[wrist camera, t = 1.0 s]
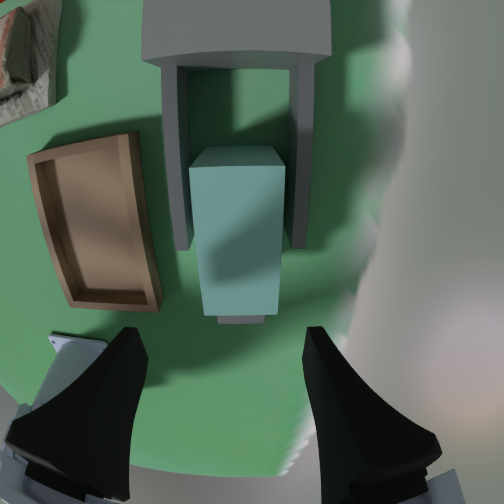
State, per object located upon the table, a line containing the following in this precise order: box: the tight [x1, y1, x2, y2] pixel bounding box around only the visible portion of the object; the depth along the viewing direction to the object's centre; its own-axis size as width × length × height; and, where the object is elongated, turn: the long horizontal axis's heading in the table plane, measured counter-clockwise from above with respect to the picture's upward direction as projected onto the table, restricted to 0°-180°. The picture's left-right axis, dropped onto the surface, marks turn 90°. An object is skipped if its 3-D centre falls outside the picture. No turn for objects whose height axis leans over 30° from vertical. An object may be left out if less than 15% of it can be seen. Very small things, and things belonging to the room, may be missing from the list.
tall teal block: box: [189, 146, 285, 324], centre depth 16 cm, size 9×4×6 cm, turn 0°
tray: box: [27, 131, 164, 312], centre depth 18 cm, size 13×8×2 cm, turn 0°
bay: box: [141, 0, 332, 250], centre depth 12 cm, size 17×8×6 cm, turn 0°
